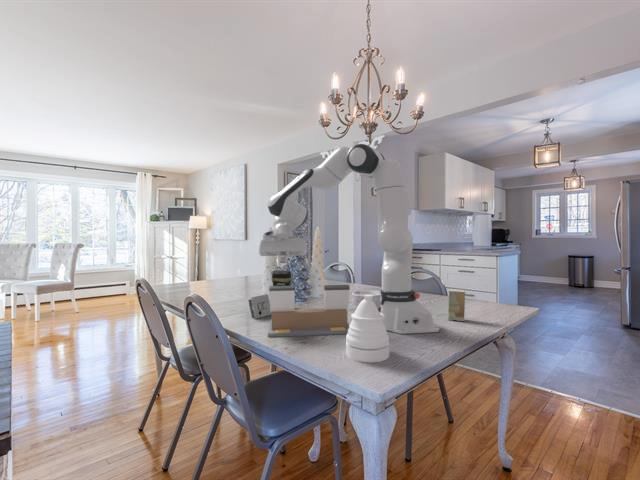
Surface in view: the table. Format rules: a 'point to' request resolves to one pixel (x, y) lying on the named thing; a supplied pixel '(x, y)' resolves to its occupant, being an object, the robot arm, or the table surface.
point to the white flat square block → (336, 297)
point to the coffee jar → (281, 278)
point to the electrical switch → (260, 306)
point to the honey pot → (367, 334)
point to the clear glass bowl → (359, 296)
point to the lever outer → (282, 298)
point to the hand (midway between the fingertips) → (283, 261)
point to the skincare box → (456, 305)
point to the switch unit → (308, 322)
